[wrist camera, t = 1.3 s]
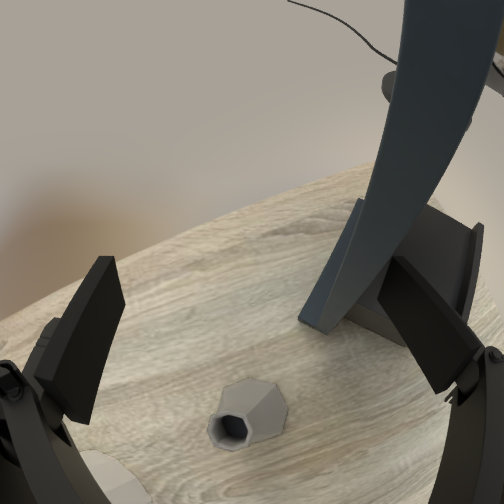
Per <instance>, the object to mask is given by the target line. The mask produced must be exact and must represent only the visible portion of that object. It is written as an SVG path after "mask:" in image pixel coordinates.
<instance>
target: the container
mask: <svg viewBox="0 0 504 504" xmlns="http://www.w3.org/2000/svg"><path fill="white" fill-rule="evenodd" d="M79 453H80V455H81V457H82V459H83V460H84V462H85V464H86V466H87V467H88V469H89V471H90V472H91V474H92V476H93V477H94V479H95V480H96V482H97V483H98V485H99V486H100V488H101V489H102V491H103V492H104V494H105V495H106V497H107V498H108V499H109V501H110V502H111V504H152V499H151V498H150V496H149V495H148V493H147V492H146V490H145V489H144V487H143V486H142V484H141V483H140V481H139V480H138V478H137V477H136V476H135V475H134V474H133V473H131V472H130V471H129V470H128V469H127V468H126V467H125V466H123V465H122V464H121V463H120V462H119V461H118V460H117V459H115V458H113V457H110V456H108V455H106V454H104V453H101V452H99V451H97V450H90V451H79Z"/></svg>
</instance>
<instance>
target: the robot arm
mask: <svg viewBox="0 0 504 504" xmlns="http://www.w3.org/2000/svg"><path fill="white" fill-rule="evenodd" d="M288 2H292V3H295V4H298V5H301V6H304V7H308V8H310V9H313V10H316V11H319V12H321V13H324V14H326V15H329V16H330V17H333V18H334V19H336V20H338V21H340V22H342V23H343V24H345V25H346V26H348V27H349V28H350V29H352V30H353V31H354V32H355V33H356V34H357V35H358V36H360V37H361V38H362V39H363V40H364V41H365V42H366V43H367V45H368V46H369V47H370V48H371V49H372V50H374V51H375V52H376V53H378V54H379V55H381V56H382V57H384V58H386V59H387V60H389V61H391V62H392V63H394V64H396V65H397V62H396V61H394V60H392V59H391V58H389V57H387V56H386V55H384V54H382V53H381V52H379V51H378V50H376V49H375V48H374V47H373V46H372V45H371V44H370V43H369V42H368V41H367V40H366V39H365V38H364V37H363V36H362V35H361V34H360V33H358V32H357V31H356V30H355V29H354V28H352V27H351V26H350V25H348V24H347V23H345V22H344V21H342V20H340V19H338V18H337V17H334V16H333V15H330V14H328V13H326V12H323V11H321V10H318V9H315V8H312V7H309V6H306V5H303V4H299V3H296V2H293V1H290V0H288ZM485 85H487V86H489V87H490V88H492V89H493V90H495V91H496V92H498V93H500V94H501V95H502V96H503V97H504V57H503V56H501V55H500V54H498V53H496V52H495V56H494V59H493V62H492V66H491V69H490V72H489V75H488V78H487V80H486V83H485ZM377 301H378V302H379V303H380V305H381V306H382V308H383V309H384V311H385V312H386V314H387V315H388V317H389V318H390V320H391V321H392V323H393V324H394V326H395V328H396V329H397V331H398V332H399V334H400V335H401V337H402V339H403V340H404V342H405V343H406V345H407V347H408V348H409V350H410V351H411V353H412V355H413V356H414V358H415V360H416V361H417V363H418V365H419V366H420V368H421V370H422V371H423V373H424V375H425V377H426V378H427V380H428V382H429V384H430V385H431V387H432V389H433V391H434V393H435V394H438V393H441V392H443V391H445V390H447V389H448V388H449V387H450V386H451V385H452V383H453V382H454V381H455V382H456V384H457V386H456V387H455V388H454V389H453V390H452V391H451V392H450V393H449V395H448V396H447V397H446V398H445V400H444V402H447V401H448V399H449V398H450V397H451V396H453V398H452V399H451V400H450V401H449V403H450V404H452V406H451V414H450V420H449V426H448V432H447V437H446V442H445V447H444V451H443V455H442V460H441V463H440V467H439V471H438V474H437V478H436V481H435V484H434V487H433V490H432V493H431V496H430V499H429V502H428V504H504V355H503V354H502V353H501V352H500V351H499V350H498V349H497V348H495V347H493V346H488V347H486V348H485V346H484V345H483V344H482V343H481V341H480V340H479V339H478V337H477V336H476V335H475V333H474V332H473V331H472V330H471V328H470V327H469V326H467V323H466V322H465V321H464V320H462V317H461V316H460V315H459V314H458V313H457V311H455V310H454V309H453V308H451V307H450V306H449V305H448V304H447V302H446V301H445V300H444V299H443V298H442V297H441V296H440V294H439V293H438V292H437V291H436V290H435V289H434V288H433V287H432V285H431V284H430V283H429V282H428V281H427V280H426V279H425V278H424V277H423V276H422V275H421V274H420V273H419V272H418V271H417V269H416V268H415V267H414V266H413V265H412V264H411V263H410V262H409V261H408V260H407V259H406V258H405V257H404V256H392V257H391V260H390V264H389V267H388V269H387V272H386V275H385V278H384V281H383V284H382V286H381V289H380V292H379V294H378V297H377ZM125 305H126V304H125V301H124V297H123V293H122V289H121V285H120V281H119V277H118V272H117V268H116V263H115V258H114V256H99V257H98V258H97V260H96V261H95V263H94V264H93V266H92V268H91V269H90V271H89V272H88V274H87V275H86V277H85V278H84V280H83V282H82V283H81V285H80V286H79V288H78V290H77V291H76V293H75V295H74V296H73V298H72V300H71V301H70V303H69V305H68V307H67V308H66V310H65V312H64V314H63V316H62V317H61V318H55V317H54V318H53V319H52V320H51V321H50V322H49V323H48V324H47V325H46V326H45V328H44V329H43V331H42V333H41V335H40V338H39V339H38V341H37V343H36V346H34V348H33V350H32V352H31V354H30V356H29V358H28V361H27V363H26V365H25V367H24V369H23V371H22V373H21V372H20V370H19V369H18V368H17V366H16V365H15V364H14V363H13V362H12V361H11V360H1V361H0V504H111V502H110V501H109V499H108V498H107V497H106V495H105V494H104V492H103V491H102V489H101V488H100V486H99V485H98V483H97V482H96V480H95V479H94V477H93V476H92V474H91V472H90V471H89V469H88V467H87V466H86V464H85V462H84V460H83V459H82V457H81V455H80V453H79V451H78V450H77V448H76V446H75V444H74V442H73V440H72V438H71V436H70V434H69V432H68V430H67V427H66V425H65V424H64V422H63V421H62V419H63V415H64V414H65V415H66V416H67V417H68V418H69V419H70V420H71V421H74V422H77V423H81V424H86V425H89V423H90V419H91V414H92V410H93V406H94V402H95V398H96V395H97V391H98V387H99V384H100V380H101V377H102V373H103V370H104V366H105V363H106V360H107V357H108V354H109V350H110V347H111V344H112V341H113V338H114V335H115V333H116V330H117V327H118V324H119V321H120V318H121V316H122V313H123V310H124V308H125Z"/></svg>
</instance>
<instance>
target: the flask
mask: <svg viewBox="0 0 504 504" xmlns="http://www.w3.org/2000/svg"><path fill="white" fill-rule="evenodd" d="M287 411H288V407H287V405H286V403H285V401H284V399H283V396H282V394H281V392H280V390H279V388H278V386H277V384H274V383H269V382H265V381H260V380H256V379H251V378H247V379H245V380H242V381H240V382H237V383H235V384H232V385H230V386H227V387H224V388H223V392H222V396H221V399H220V403H219V407H218V411H217V413H216V414H213V415H211V417H210V421H209V424H208V428H207V433H208V435H209V437H210V439H211V441H212V443H213V446H214V447H217V448H220V449H223V450H227V451H230V452H233V451H236V450H240V449H243V448H246V447H249V446H250V442H252V443H257V442H260V441H263V440H266V439H268V438H271V437H274V436H276V435H279V434H281V433H282V430H283V426H284V422H285V419H286V415H287Z"/></svg>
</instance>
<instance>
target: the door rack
mask: <svg viewBox="0 0 504 504" xmlns="http://www.w3.org/2000/svg"><path fill="white" fill-rule="evenodd" d="M495 52H496V53H498V54H500V55H501V56H503V57H504V0H405V2H404V15H403V25H402V34H401V42H400V49H399V56H398V62H397V68H396V74H395V80H394V85H393V90H392V95H391V100H390V105H389V110H388V114H387V119H386V123H385V127H384V131H383V135H382V139H381V143H380V147H379V151H378V155H377V158H376V162H375V166H374V169H373V173H372V176H371V179H370V183H369V186H368V189H367V193H366V196H365V199H364V200H363V199H360V198H358V200H357V202H356V204H355V206H354V209H353V211H352V213H351V215H350V217H349V219H348V221H347V224H346V226H345V228H344V230H343V232H342V234H341V236H340V238H339V240H338V242H337V244H336V246H335V248H334V250H333V252H332V254H331V256H330V258H329V260H328V262H327V264H326V266H325V268H324V270H323V272H322V274H321V276H320V278H319V279H318V281H317V283H316V285H315V287H314V289H313V291H312V293H311V294H310V296H309V298H308V300H307V302H306V303H305V305H304V307H303V309H302V311H301V312H300V314H299V316H298V321H300V322H302V323H304V324H306V325H308V326H310V327H312V328H314V329H316V330H318V331H320V332H321V333H323V334H325V335H328V334H329V332H330V331H331V330H332V329H333V328H334V327H335V326H336V325H337V323H338V322H339V321H340V320H341V319H342V318H343V317H345V318H347V319H349V320H351V321H353V322H355V323H357V324H359V325H361V326H363V327H365V328H367V329H369V330H371V331H373V332H375V333H377V334H379V335H381V336H383V337H385V338H387V339H389V340H391V341H393V342H395V343H397V344H399V345H401V346H403V347H407V345H406V343H405V342H404V340H403V339H402V337H401V335H400V334H399V332H398V331H397V329H396V328H395V326H394V324H393V323H392V321H391V320H390V318H389V317H388V315H387V314H386V312H385V311H384V309H383V308H382V306H381V305H380V303H379V302H378V301H377V297H378V294H379V292H380V289H381V286H382V284H383V281H384V278H385V275H386V272H387V269H388V267H389V264H390V260H391V257H392V256H404V257H405V258H406V259H407V260H408V261H409V262H410V263H411V264H412V265H413V266H414V267H415V268H416V269H417V271H418V272H419V273H420V274H421V275H422V276H423V277H424V278H425V279H426V280H427V281H428V282H429V283H430V284H431V285H432V287H433V288H434V289H435V290H436V291H437V292H438V293H439V294H440V296H441V297H442V298H443V299H444V300H445V301H446V302H447V304H448V305H449V306H450V307H451V308H453V309H454V310H455V311H457V313H458V314H459V315H460V316H461V317H462V320H464V321H465V322H466V323H467V321H468V318H469V314H470V310H471V306H472V302H473V297H474V293H475V288H476V283H477V278H478V272H479V266H480V259H481V252H482V243H483V233H484V225H482V224H481V223H479V222H478V223H477V224H476V225H475V226H474V228H473V229H470V228H468V227H466V226H465V225H463V224H462V223H460V222H458V221H456V220H455V219H453V218H451V217H449V216H448V215H446V214H444V213H442V212H441V211H439V210H437V209H435V208H433V207H431V206H429V205H427V204H426V203H427V202H428V200H429V199H430V197H431V195H432V194H433V192H434V190H435V188H436V187H437V185H438V183H439V181H440V180H441V178H442V176H443V174H444V173H445V171H446V169H447V167H448V165H449V163H450V161H451V160H452V158H453V156H454V154H455V152H456V150H457V148H458V146H459V144H460V142H461V140H462V138H463V136H464V134H465V131H466V129H467V127H468V125H469V123H470V120H471V118H472V116H473V113H474V111H475V109H476V106H477V104H478V101H479V99H480V96H481V94H482V91H483V89H484V86H485V83H486V80H487V78H488V75H489V72H490V69H491V66H492V62H493V59H494V56H495Z"/></svg>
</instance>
